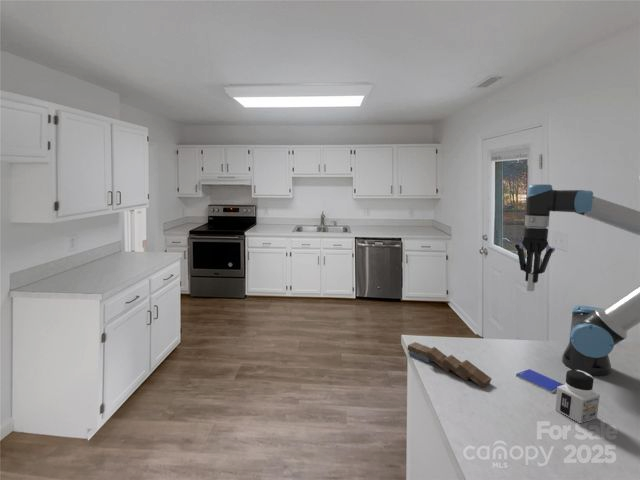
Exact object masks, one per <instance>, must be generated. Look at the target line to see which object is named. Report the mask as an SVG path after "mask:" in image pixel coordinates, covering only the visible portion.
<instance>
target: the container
mask: <svg viewBox="0 0 640 480" xmlns="http://www.w3.org/2000/svg"><path fill="white" fill-rule="evenodd" d="M593 386H594V377H593V375H591V374H588V373H586V372H583V371H580V370H574V369H569V370H567V371H566V376H565V384H564V385H562V386H558V387H557V391H556V399H555V405H554V406H555V407H554V410H555V411H556V412H558V413H559V414H561V413H562V414H561V415H563V414H564V416H565V415H566V416H565V417H567V416H568V417H567V418H569V417H570V418H571V420H572V419H573V420H572V421H574V420H575V421H574V422H576V421H577V422H576V423H578V422H580V423H582V424H584V423H583V422H585V423H587V422H586V421H588V422H590V421H593V420H595V419H597V418H598V415H599V414H598V411H599V403H600V396H601V395H600V393H599V392H597V391H594V390H593V389H594V387H593ZM570 418H569V419H570Z"/></svg>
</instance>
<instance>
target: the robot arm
mask: <svg viewBox="0 0 640 480" xmlns="http://www.w3.org/2000/svg"><path fill="white" fill-rule="evenodd" d="M525 203H526V204H525V216H524V217H525V218H524V226H525V227H524V229H523V231H524V232H523V239H522V240H521V242H520V243H518V244H515V245H514V247H515V249H516V250H517V257H518V261H519V267H520V270H521V271H523V272H525V282H527V288H526V291H527V292H534V291H535V288H536V287H535V286H536V284H537V283H538V282H539V275H540V274H543V273H545V271H546V269H547V267H548V264H549V261H550V258H551V257H552V254H553V253H554V252H555V251H556V248H555V247H552V246H550V245H549V242H548V238H549V237H548V236H549V235H548V234H549V229H548V227H549V224H550V213H551V212H554V213H555V212H561V213H575V214H577V215H582V216H585V217H587V218H590V219H593V220H595V221H598V222H600V223H603V224H606V225H609V226H612V227H615V228H617V229H620V230H622V231H626V232H628V233H632V234H634V235H636V236H639V237H640V211H639V210H637V209H634V208H630V207H628V206H624V205H621V204H618V203H615V202H612V201H610V200H606V199H603V198H600V197H596V196H594V192H593V191H592V190H585V189H575V190H574V189H569V190H568V189H566V190H565V189H562V190H561V189H560V190H557V189H554V188H553V185H552V184H543V183H542V184H539V183H537V184H530V185H529V186H528V188H527V195H526V202H525ZM524 249H525V250H526V256H525V251H524ZM544 250H545V253H544V256H543V259H542V260H541V256H542V252H543V251H544ZM541 261H542V262H541ZM532 269H533V270H532ZM571 314H572V315H571V324H570V331H569V342H568V345H566V348H565V349H564V352H563V354H562V356H561V361H562V364H564V366H566V367H568V368H569V369H570V370H580V371H583V372H586V373H588V374H590V375H591V376H607V375H609V374H611V371H612V363H611V360H610V356H609V354H610V353H611V352H612V351H613V350H614V349H615V348H614V347H615V346H616V345H617V344H620V342H622V341H623V340H626V338H627V337H628V336H627V335H628V334H627V333H628V331H629V330H631V329H633V328H634V327H636V326H637V325H639V324H640V285H638V286H637V287H636V288H634V289H633V290H631V291H630V292H628V293H626V294H625V295H624V296H622V297H621V298H619V299H617V300H616V301H615V302H614V303H612V304H611V305H609V306H608V307H606V308H605V309H604V308H600V307H595V306H589V305H574V306H573V308H572V311H571Z"/></svg>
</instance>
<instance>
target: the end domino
mask: <svg viewBox="0 0 640 480" xmlns="http://www.w3.org/2000/svg"><path fill="white" fill-rule="evenodd" d="M408 355H411V356H413V357H416V359H417V358H418V359H420V360H422V361H424V362H426V363H431V362H434V361H433V360H432V359H430V358H426V357H424V356H421V355H419V354H416V353H414V352H412V351H409V350H408Z"/></svg>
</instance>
